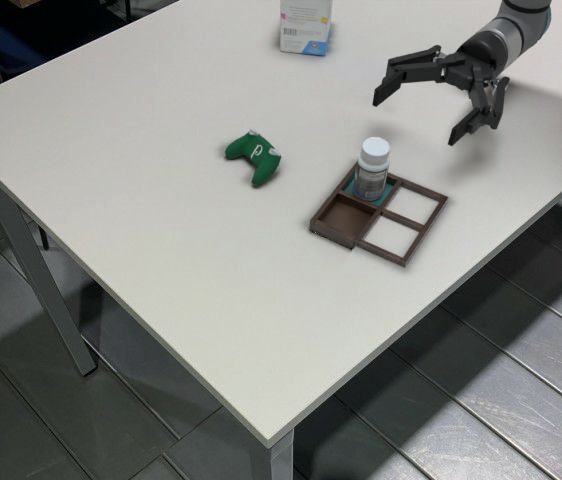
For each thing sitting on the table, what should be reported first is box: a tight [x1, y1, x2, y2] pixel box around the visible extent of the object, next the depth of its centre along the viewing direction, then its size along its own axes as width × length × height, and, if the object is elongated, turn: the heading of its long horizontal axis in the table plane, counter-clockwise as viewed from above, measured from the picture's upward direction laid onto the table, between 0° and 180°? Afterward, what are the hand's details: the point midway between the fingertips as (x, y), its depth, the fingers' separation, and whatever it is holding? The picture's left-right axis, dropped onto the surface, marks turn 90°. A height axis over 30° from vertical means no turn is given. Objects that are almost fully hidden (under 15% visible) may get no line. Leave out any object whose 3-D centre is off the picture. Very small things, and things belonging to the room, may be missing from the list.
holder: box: [308, 161, 450, 268], centre depth 92 cm, size 15×15×2 cm
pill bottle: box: [353, 136, 391, 201], centre depth 92 cm, size 5×5×8 cm
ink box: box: [279, 0, 334, 57], centre depth 111 cm, size 9×8×13 cm
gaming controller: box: [224, 128, 282, 187], centre depth 97 cm, size 9×4×6 cm
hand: (412, 117), depth 91 cm, fingers open, 13 cm apart
